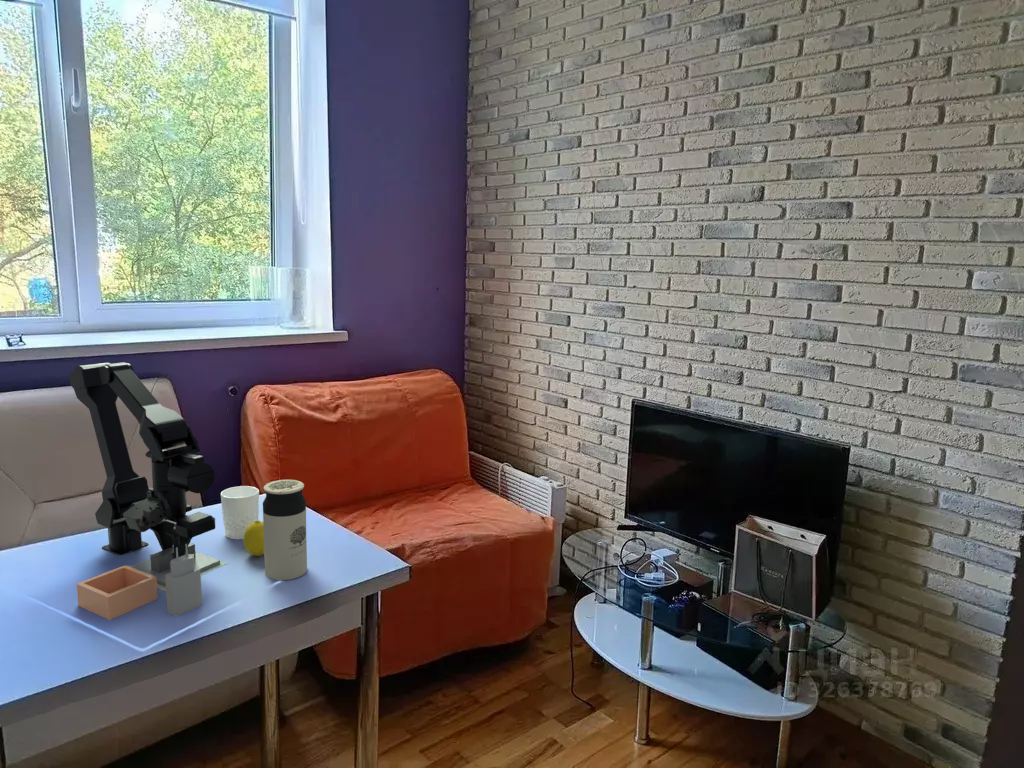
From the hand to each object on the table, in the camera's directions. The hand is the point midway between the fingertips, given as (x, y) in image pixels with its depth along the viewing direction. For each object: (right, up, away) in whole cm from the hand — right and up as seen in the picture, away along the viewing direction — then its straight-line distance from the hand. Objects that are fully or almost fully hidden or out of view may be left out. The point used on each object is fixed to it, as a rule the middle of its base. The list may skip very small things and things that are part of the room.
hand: (173, 558), depth 142 cm
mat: (0, -2, 0) cm, 2 cm away
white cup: (+7, +1, +18) cm, 19 cm away
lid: (0, -2, 0) cm, 2 cm away
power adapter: (+9, -6, -15) cm, 18 cm away
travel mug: (+22, -3, +1) cm, 22 cm away
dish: (-3, -5, -13) cm, 15 cm away
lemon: (+14, -2, +7) cm, 16 cm away
